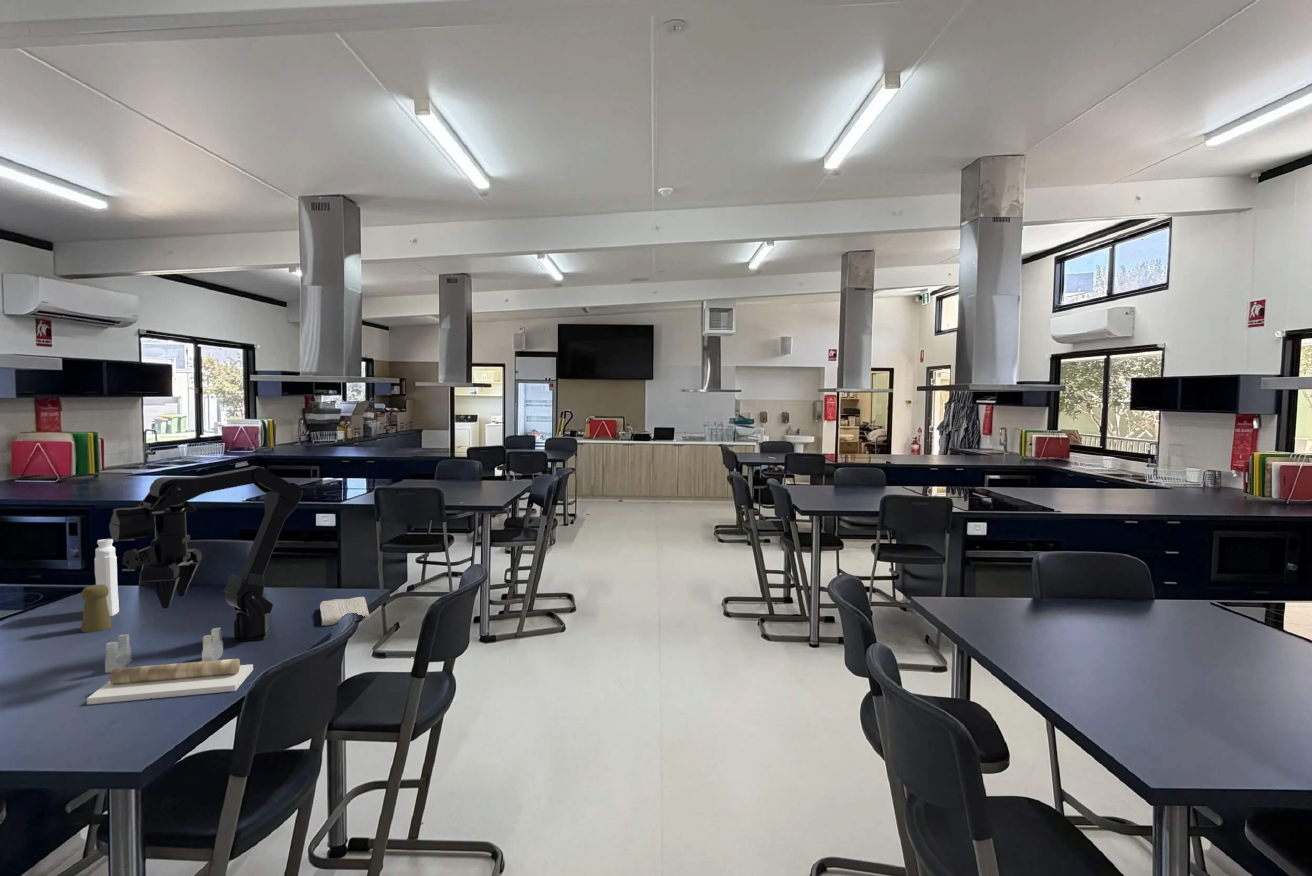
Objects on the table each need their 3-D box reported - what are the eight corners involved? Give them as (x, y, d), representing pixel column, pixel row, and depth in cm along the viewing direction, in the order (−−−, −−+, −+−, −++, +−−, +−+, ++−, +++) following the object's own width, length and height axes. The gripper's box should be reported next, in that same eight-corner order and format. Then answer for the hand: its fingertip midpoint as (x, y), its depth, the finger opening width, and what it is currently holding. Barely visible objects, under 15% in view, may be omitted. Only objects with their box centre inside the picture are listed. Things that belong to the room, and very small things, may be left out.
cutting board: (253, 669, 143) (252, 664, 143) (235, 690, 133) (235, 684, 133) (117, 681, 137) (117, 675, 137) (87, 704, 126) (86, 698, 126)
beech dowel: (237, 675, 139) (240, 661, 140) (233, 670, 136) (237, 656, 138) (114, 686, 133) (118, 671, 135) (107, 681, 131) (112, 666, 132)
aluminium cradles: (223, 653, 152) (222, 627, 152) (212, 664, 146) (211, 636, 146) (120, 661, 147) (119, 634, 146) (105, 672, 141) (104, 644, 140)
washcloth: (364, 603, 192) (364, 593, 192) (371, 621, 177) (371, 610, 177) (318, 609, 187) (318, 598, 187) (321, 628, 171) (321, 617, 171)
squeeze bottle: (96, 618, 175) (121, 614, 179) (94, 544, 174) (118, 541, 178) (93, 610, 182) (117, 606, 186) (91, 538, 181) (115, 536, 185)
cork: (93, 633, 164) (92, 589, 164) (74, 631, 166) (72, 587, 165) (117, 625, 170) (116, 583, 170) (98, 623, 172) (97, 581, 171)
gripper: (145, 527, 154) (148, 593, 155) (107, 544, 137) (111, 618, 138) (201, 524, 158) (203, 589, 159) (171, 541, 140) (174, 613, 141)
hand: (173, 601), depth 149 cm, fingers open, 9 cm apart
